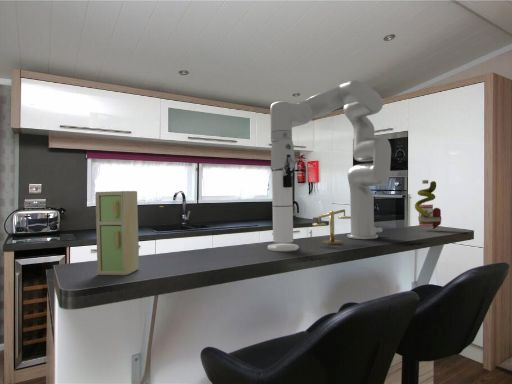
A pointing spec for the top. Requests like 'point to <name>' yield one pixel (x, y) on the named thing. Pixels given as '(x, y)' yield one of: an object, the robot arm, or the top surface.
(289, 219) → the cylindrical container
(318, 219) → the balance
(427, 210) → the snake in a can
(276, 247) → the dish
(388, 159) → the robot arm
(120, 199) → the toy refrigerator
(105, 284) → the top surface
